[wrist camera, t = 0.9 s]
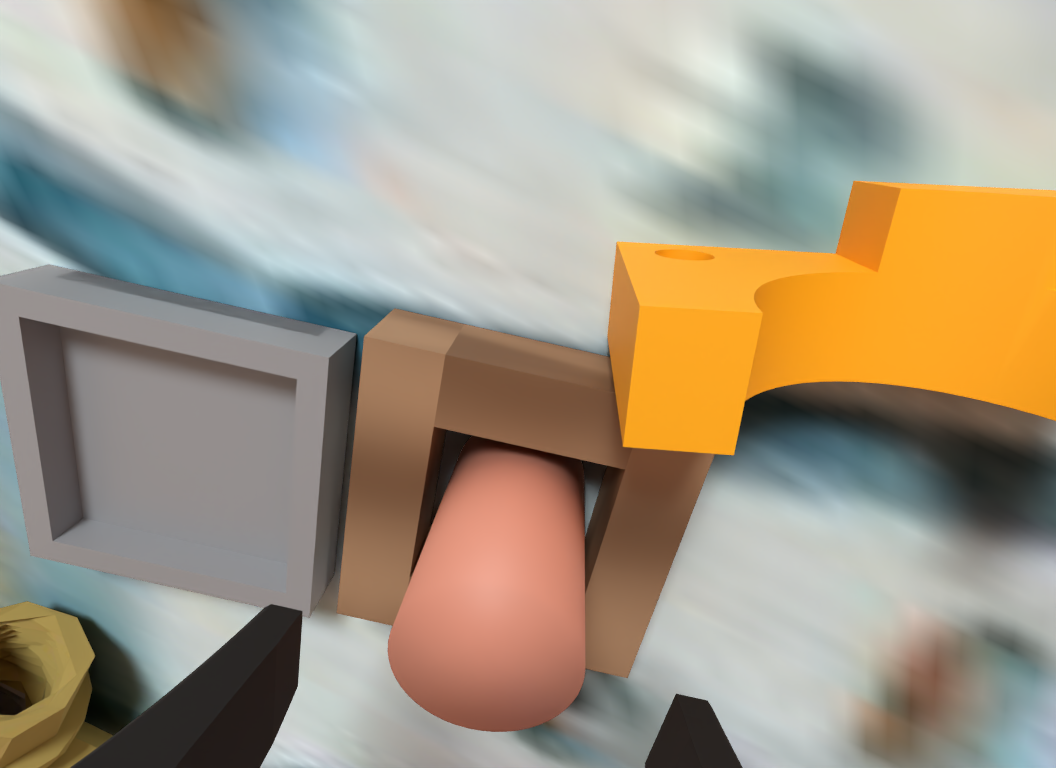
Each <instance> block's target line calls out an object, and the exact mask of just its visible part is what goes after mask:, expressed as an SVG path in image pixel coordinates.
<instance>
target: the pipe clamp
mask: <svg viewBox="0 0 1056 768" xmlns="http://www.w3.org/2000/svg"><path fill="white" fill-rule="evenodd" d="M608 344H609V351H610V358H611V365H612V372H613V379H614V386H615V393H616V401H617V408H618V415H619V422H620V429H621V436H622V443H623V447H631V448H644V449H658V450H671V451H684V452H697V453H711V454H724V455H734V452H735V447H736V442H737V437H738V432H739V427H740V423H741V418H742V413H743V408H744V403H745V401H746V400H747V399H749V398H751V397H753V396H754V395H757V394H759V393H761V392H764V391H767V390H770V389H774V388H777V387H782V386H787V385H792V384H800V383H810V382H832V381H844V382H867V383H880V384H889V385H899V386H906V387H913V388H920V389H926V390H932V391H938V392H944V393H949V394H954V395H959V396H964V397H968V398H973V399H977V400H982V401H986V402H990V403H994V404H998V405H1002V406H1006V407H1010V408H1014V409H1017V410H1021V411H1024V412H1028V413H1031V414H1035V415H1038V416H1042V417H1045V418H1048V419H1051V420H1055V421H1056V191H1055V190H1034V189H1013V188H992V187H971V186H950V185H929V184H908V183H887V182H866V181H854V182H853V186H852V190H851V194H850V198H849V202H848V206H847V210H846V214H845V218H844V222H843V226H842V230H841V234H840V239H839V243H838V247H837V251H836V254H832V253H814V252H795V251H777V250H759V249H741V248H723V247H705V246H687V245H668V244H650V243H632V242H617V245H616V255H615V265H614V276H613V286H612V296H611V306H610V316H609V326H608Z"/></svg>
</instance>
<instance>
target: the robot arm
mask: <svg viewBox="0 0 1056 768" xmlns="http://www.w3.org/2000/svg"><path fill="white" fill-rule="evenodd" d="M302 614H303V611H301V610H296V609H292V608H287V607H283V606H278V605H274V604H270V605H268V606H266V607H265V608H264V609H263V610H262V611H260V612H259V613H258V614H257V615H256V616H255V617H254V618H253V619H252V620H251V621H250V622H249V623H248V624H247V625H245V626H244V627H243V628H242V629H241V630H240V631H239V632H238V633H237V634H236V635H235V636H233V637H232V638H231V639H230V640H229V641H228V642H227V643H226V644H225V645H223V646H222V647H221V648H220V649H219V650H218V651H217V652H215V653H214V654H213V655H212V656H211V657H210V658H209V659H207V660H206V661H205V662H204V663H203V664H202V665H201V666H199V667H198V668H197V669H196V670H195V671H193V672H192V673H191V674H190V675H189V676H187V677H186V678H185V679H184V680H183V681H181V682H180V683H179V684H178V685H177V686H175V687H174V688H173V689H172V690H171V691H170V692H168V693H167V694H166V695H165V696H163V697H162V698H161V699H160V700H159V701H157V702H156V703H155V704H154V705H152V706H151V707H150V708H148V709H147V710H146V711H145V712H143V713H142V714H141V715H139V716H138V717H137V718H136V719H134V720H133V721H132V722H130V723H129V724H128V725H126V726H125V727H124V728H123V729H121V730H120V731H119V732H117V733H116V734H115V735H114V736H112V737H111V738H110V739H108V740H107V741H106V742H104V743H103V744H102V745H100V746H99V747H98V748H96V749H95V750H94V751H92V752H91V753H89V754H88V755H87V756H85V757H84V758H83V759H81V760H80V761H78V762H77V763H76V764H74V765H73V766H71V767H70V768H260V766H261V764H262V763H263V761H264V759H265V757H266V755H267V753H268V752H269V750H270V748H271V746H272V744H273V742H274V740H275V737H276V735H277V733H278V731H279V728H280V726H281V724H282V722H283V719H284V717H285V715H286V712H287V710H288V708H289V705H290V703H291V701H292V698H293V696H294V694H295V691H296V689H297V687H298V674H299V659H300V644H301V629H302ZM645 768H742V766H741V764H740V762H739V760H738V758H737V756H736V754H735V752H734V750H733V748H732V746H731V744H730V742H729V740H728V739H727V737H726V735H725V733H724V731H723V729H722V727H721V725H720V723H719V721H718V719H717V717H716V715H715V713H714V711H713V709H712V707H711V705H710V704H709V702H708V701H707V700H702V699H698V698H693V697H689V696H684V695H679V694H676V695H675V697H674V700H673V702H672V704H671V706H670V709H669V711H668V713H667V715H666V717H665V720H664V722H663V724H662V726H661V729H660V731H659V733H658V735H657V738H656V740H655V742H654V744H653V747H652V749H651V751H650V753H649V755H648V758H647V760H646V762H645Z"/></svg>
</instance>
